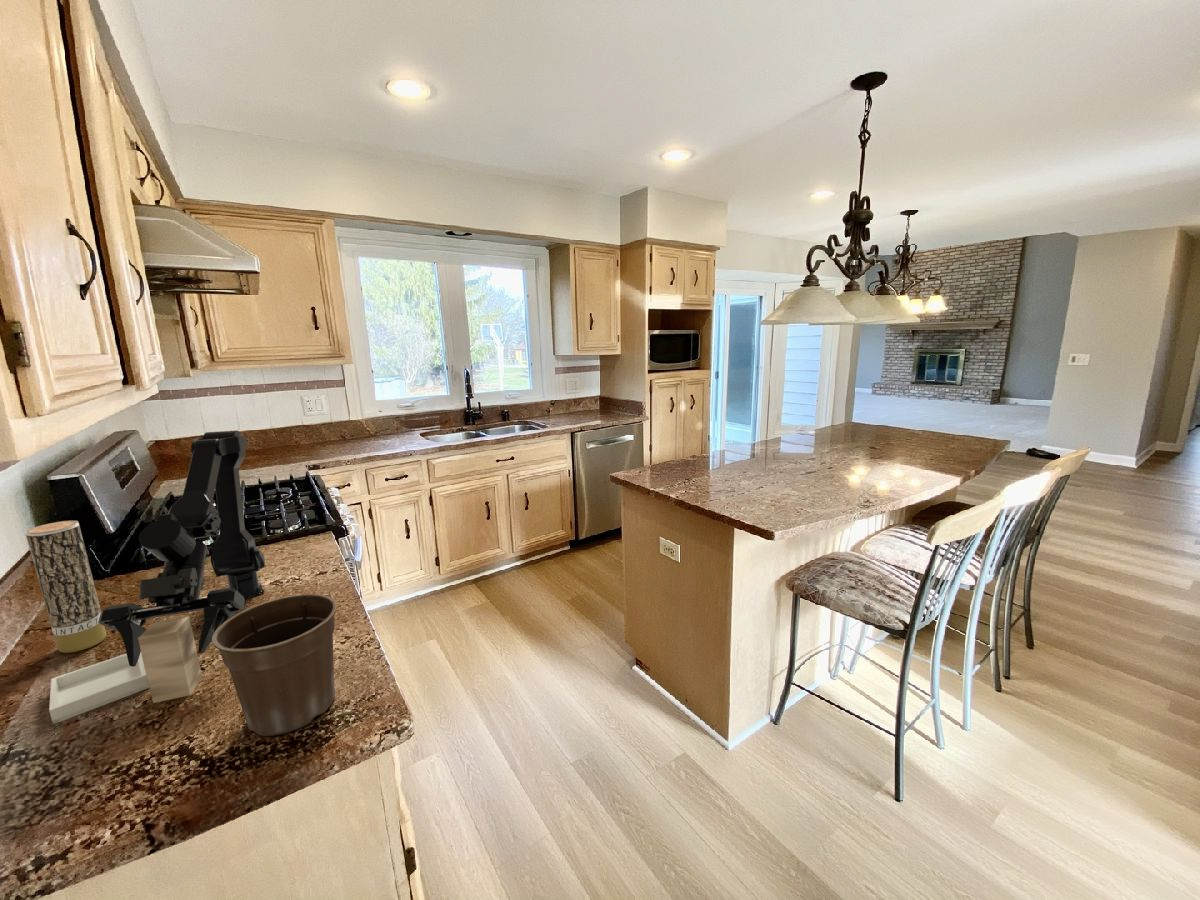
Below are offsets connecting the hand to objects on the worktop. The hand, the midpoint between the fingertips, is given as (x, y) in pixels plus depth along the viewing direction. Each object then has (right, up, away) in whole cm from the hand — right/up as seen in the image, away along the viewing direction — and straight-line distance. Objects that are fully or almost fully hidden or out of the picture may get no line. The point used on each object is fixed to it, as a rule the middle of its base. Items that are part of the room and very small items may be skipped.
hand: (167, 659), depth 80 cm
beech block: (0, -6, +3) cm, 7 cm away
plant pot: (+22, -7, -2) cm, 24 cm away
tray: (-14, -6, +3) cm, 16 cm away
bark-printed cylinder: (-31, -4, +16) cm, 35 cm away
